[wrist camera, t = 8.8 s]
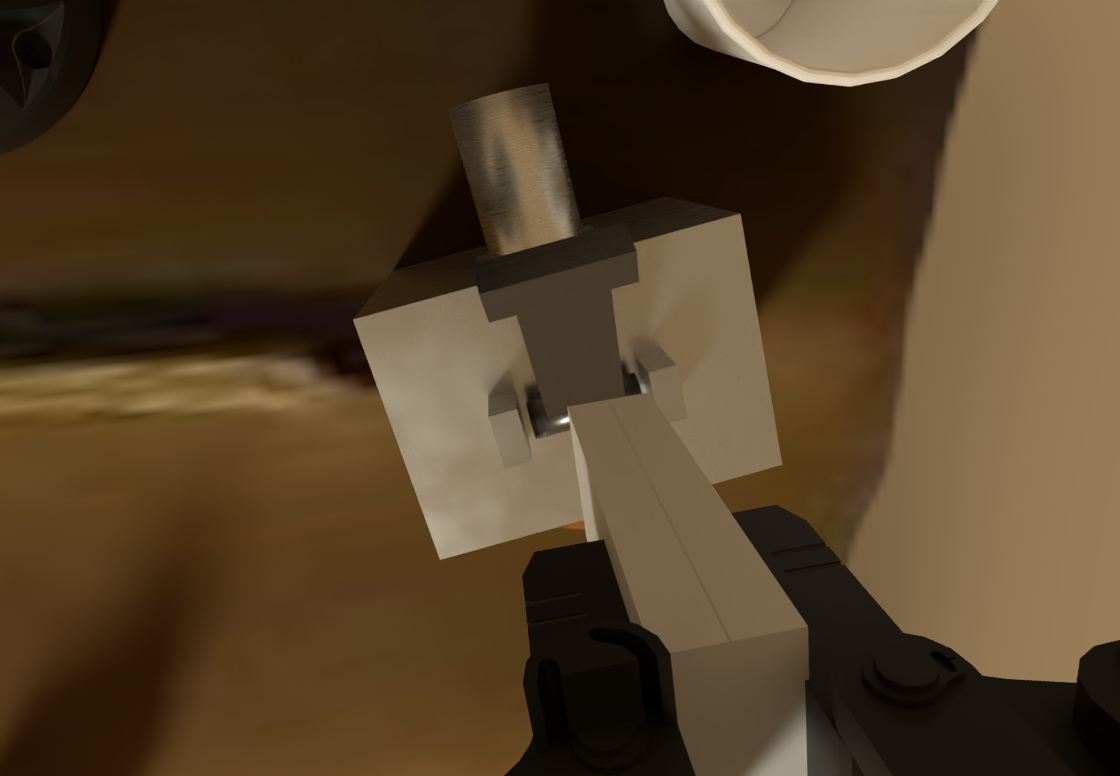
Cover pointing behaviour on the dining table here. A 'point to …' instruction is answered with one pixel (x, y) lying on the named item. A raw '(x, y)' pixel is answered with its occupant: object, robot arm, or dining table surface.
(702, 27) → the cup
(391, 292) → the hitch block
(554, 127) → the pin
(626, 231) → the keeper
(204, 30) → the dining table surface
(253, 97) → the dining table surface
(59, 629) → the dining table surface
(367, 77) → the dining table surface
